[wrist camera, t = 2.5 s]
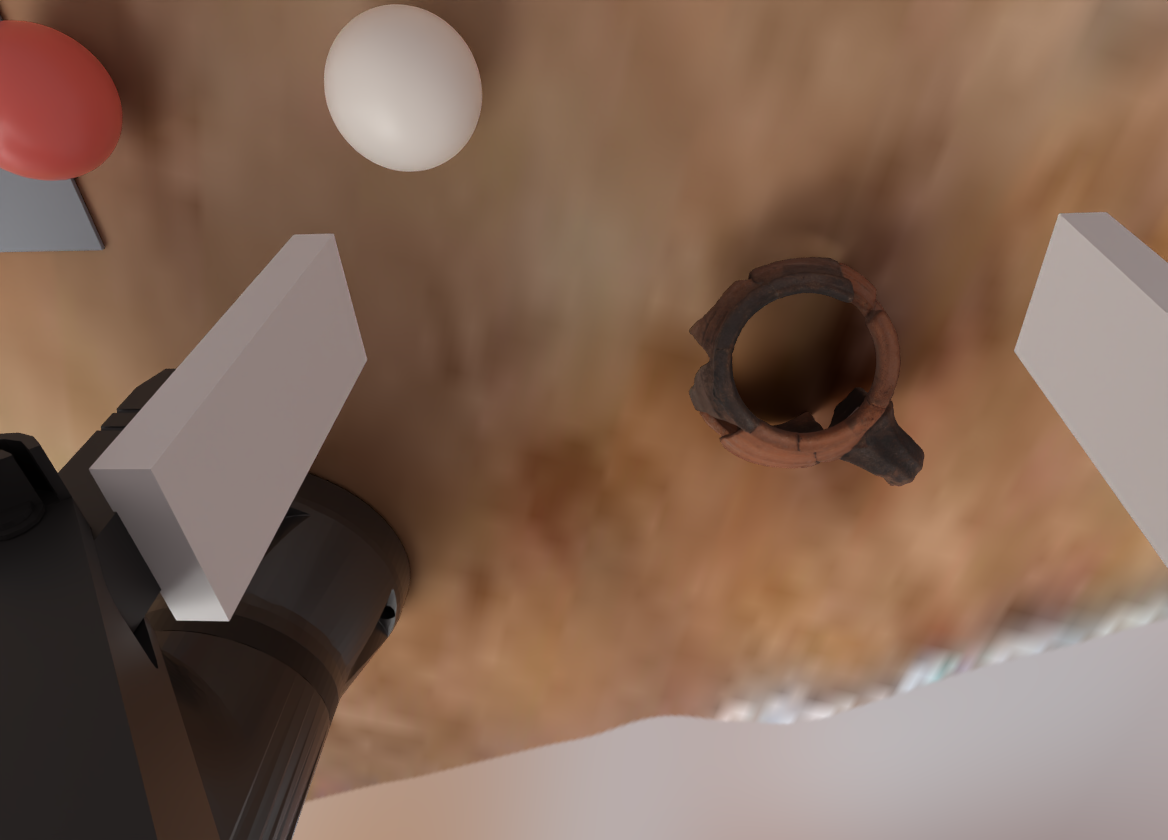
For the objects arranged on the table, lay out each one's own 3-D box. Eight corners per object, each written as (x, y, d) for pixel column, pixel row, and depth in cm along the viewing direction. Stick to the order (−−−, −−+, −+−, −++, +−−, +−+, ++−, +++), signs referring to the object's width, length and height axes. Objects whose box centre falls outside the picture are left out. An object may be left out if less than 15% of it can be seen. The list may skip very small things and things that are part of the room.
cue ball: (520, 96, 30) (500, 140, 26) (414, 169, 32) (378, 222, 28) (431, -42, 28) (392, -18, 23) (321, 47, 30) (265, 84, 25)
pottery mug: (641, 389, 39) (646, 404, 31) (746, 226, 38) (781, 197, 30) (841, 517, 39) (899, 565, 31) (951, 359, 38) (1042, 366, 30)
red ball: (178, 107, 31) (102, 151, 27) (95, 177, 33) (12, 229, 29) (60, -25, 29) (-45, 1, 24) (-22, 60, 31) (-133, 98, 26)
